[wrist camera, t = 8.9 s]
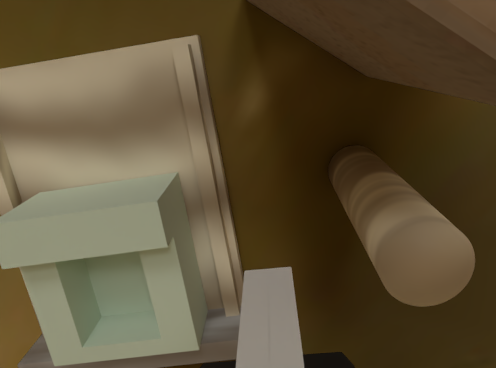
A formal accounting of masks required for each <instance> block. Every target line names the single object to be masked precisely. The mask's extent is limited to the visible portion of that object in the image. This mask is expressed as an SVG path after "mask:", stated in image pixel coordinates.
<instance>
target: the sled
mask: <svg viewBox="0 0 496 368" xmlns="http://www.w3.org/2000/svg"><path fill="white" fill-rule="evenodd" d="M0 264H1V267H2V269H8V268H15V267H20V269H21V272H22V275H23V278H24V280H25V283H26V286H27V289H28V292H29V295H30V298H31V301H32V303H33V306H34V309H35V312H36V315H37V318H38V321H39V323H40V326H41V329H42V332H43V335H44V338H45V341H46V343H47V346H48V349H49V352H50V355H51V358H52V361H53V364H54V366H62V365H71V364H80V363H89V362H98V361H106V360H115V359H124V358H133V357H142V356H151V355H160V354H169V353H177V352H186V351H195V350H199V349H200V344H201V340H202V335H203V330H204V326H205V321H206V317H207V312H208V309H207V304H206V300H205V295H204V290H203V286H202V281H201V276H200V272H199V267H198V263H197V258H196V253H195V249H194V244H193V239H192V235H191V230H190V225H189V221H188V216H187V211H186V207H185V202H184V197H183V193H182V188H181V184H180V179H179V174H178V172H175V173H168V174H162V175H155V176H148V177H141V178H134V179H128V180H121V181H114V182H107V183H101V184H94V185H87V186H80V187H73V188H67V189H60V190H53V191H46V192H40V193H38V194H36V195H35V196H33V197H31V198H30V199H28V200H27V201H25V202H23V203H22V204H20V205H19V206H17V207H15V208H14V209H12V210H11V211H9V212H7V213H6V214H4V215H2V216H1V217H0Z"/></svg>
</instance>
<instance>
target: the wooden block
mask: <svg viewBox="0 0 496 368" xmlns="http://www.w3.org/2000/svg"><path fill="white" fill-rule="evenodd" d="M246 1H248V2H249V3H251V4H253V5H254V6H256V7H257V8H259V9H261V10H262V11H264V12H265V13H267V14H268V15H270V16H272V17H273V18H275V19H276V20H278V21H280V22H281V23H283V24H284V25H286V26H287V27H289V28H291V29H292V30H294V31H295V32H297V33H299V34H300V35H302V36H303V37H305V38H307V39H308V40H310V41H311V42H313V43H314V44H316V45H318V46H319V47H321V48H322V49H324V50H326V51H327V52H329V53H330V54H332V55H333V56H335V57H337V58H338V59H340V60H341V61H343V62H345V63H346V64H348V65H349V66H351V67H352V68H354V69H356V70H357V71H359V72H360V73H362V74H364V75H365V76H367V77H371V78H375V79H380V80H384V81H389V82H393V83H397V84H402V85H406V86H411V87H415V88H419V89H424V90H428V91H433V92H437V93H441V94H446V95H450V96H455V97H459V98H464V99H468V100H472V101H477V102H481V103H486V104H490V105H494V106H496V0H246Z"/></svg>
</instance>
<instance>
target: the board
mask: <svg viewBox="0 0 496 368" xmlns="http://www.w3.org/2000/svg"><path fill="white" fill-rule="evenodd" d="M175 172H178V174H179V179H180V184H181V188H182V193H183V197H184V202H185V207H186V211H187V216H188V221H189V225H190V230H191V235H192V239H193V244H194V249H195V253H196V258H197V263H198V267H199V272H200V276H201V281H202V286H203V290H204V295H205V300H206V304H207V309H208V312H207V317H206V321H205V326H204V330H203V335H202V340H201V344H200V349H199V350H195V351H186V352H177V353H169V354H160V355H151V356H142V357H133V358H124V359H115V360H106V361H98V362H89V363H80V364H71V365H62V366H54V364H53V361H52V358H51V355H50V352H49V349H48V346H47V343H46V341H45V338H44V335H43V332H42V335H41V336H40V337H39V338H38V340H37V341H36V342H35V343H34V345H33V346H32V347H31V348H30V350H29V351H28V352H27V354H26V355H25V356H24V357H23V359H22V360H21V361H20V362H19V364H18V368H160V367H169V366H178V365H187V364H196V363H205V362H215V361H224V360H233V359H236V358H237V347H238V336H239V326H240V315H241V304H242V293H243V282H244V276H243V271H242V265H241V260H240V254H239V249H238V243H237V238H236V233H235V227H234V222H233V216H232V211H231V205H230V200H229V194H228V189H227V183H226V178H225V172H224V167H223V161H222V156H221V150H220V145H219V139H218V134H217V129H216V123H215V118H214V112H213V107H212V101H211V96H210V90H209V85H208V79H207V74H206V68H205V63H204V57H203V52H202V46H201V41H200V36H199V35H194V36H188V37H182V38H176V39H170V40H165V41H159V42H153V43H147V44H142V45H136V46H130V47H124V48H119V49H113V50H107V51H101V52H95V53H90V54H84V55H78V56H72V57H67V58H61V59H55V60H49V61H44V62H38V63H32V64H26V65H20V66H15V67H9V68H3V69H0V213H1V216H2V215H4V214H6V213H7V212H9V211H11V210H12V209H14V208H15V207H17V206H19V205H20V204H22V203H23V202H25V201H27V200H28V199H30V198H31V197H33V196H35V195H36V194H38V193H40V192H46V191H53V190H60V189H67V188H73V187H80V186H87V185H94V184H101V183H107V182H114V181H121V180H128V179H134V178H141V177H148V176H155V175H162V174H168V173H175ZM19 268H20V267H19ZM20 271H21V269H20ZM21 273H22V272H21ZM22 276H23V275H22ZM23 279H24V278H23ZM24 282H25V280H24ZM25 285H26V283H25ZM26 288H27V286H26ZM27 291H28V289H27ZM28 293H29V292H28ZM29 296H30V295H29ZM30 299H31V298H30ZM31 302H32V301H31ZM32 305H33V303H32ZM33 308H34V306H33ZM34 311H35V309H34ZM35 313H36V312H35ZM36 316H37V315H36ZM37 319H38V318H37ZM38 322H39V321H38ZM39 325H40V323H39ZM40 328H41V326H40ZM41 331H42V329H41Z"/></svg>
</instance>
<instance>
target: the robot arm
mask: <svg viewBox="0 0 496 368" xmlns="http://www.w3.org/2000/svg"><path fill="white" fill-rule="evenodd" d="M200 368H355V367H354V365H353V364H352V363H351V362H350V361H349V360H348V358H347V357H346V356H345V355H344V354H343V353H342V352H334V353H320V354H306V355H303V353H302V345H301V338H300V330H299V322H298V315H297V307H296V300H295V292H294V284H293V277H292V269H291V267H282V268H271V269H259V270H247V271H245V272H244V282H243V293H242V304H241V315H240V326H239V336H238V347H237V358H236V361H228V362H214V363H203V364H202V366H201V367H200Z"/></svg>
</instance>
